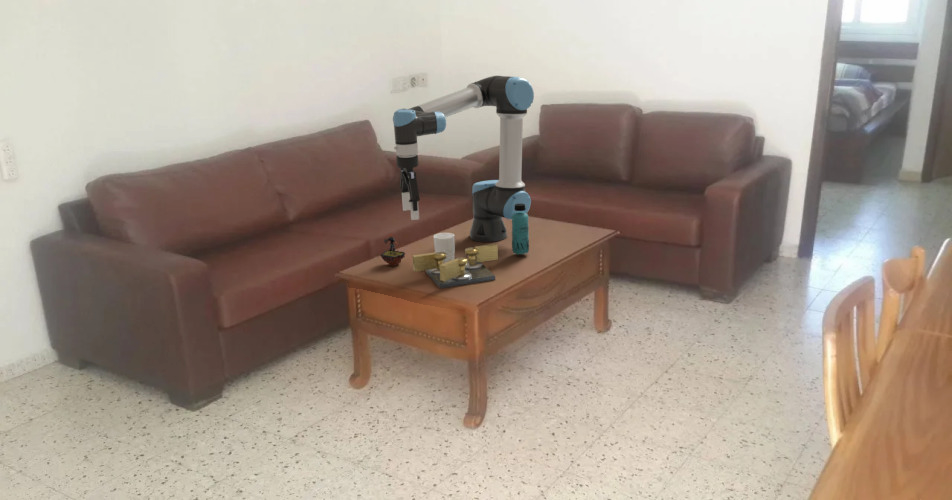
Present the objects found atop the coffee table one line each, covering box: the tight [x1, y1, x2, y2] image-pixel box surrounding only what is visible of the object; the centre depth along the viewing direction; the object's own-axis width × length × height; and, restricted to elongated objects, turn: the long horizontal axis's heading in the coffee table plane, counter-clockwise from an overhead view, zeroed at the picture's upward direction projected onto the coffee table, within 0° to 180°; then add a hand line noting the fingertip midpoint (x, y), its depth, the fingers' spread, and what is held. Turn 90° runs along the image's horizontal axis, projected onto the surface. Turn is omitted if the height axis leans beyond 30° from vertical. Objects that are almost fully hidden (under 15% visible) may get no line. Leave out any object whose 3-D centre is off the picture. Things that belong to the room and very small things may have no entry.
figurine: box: [380, 234, 406, 267], centre depth 292 cm, size 10×8×12 cm
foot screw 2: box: [440, 257, 469, 281], centre depth 270 cm, size 12×5×6 cm, turn 139°
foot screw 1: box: [412, 251, 446, 272], centre depth 278 cm, size 12×5×6 cm, turn 109°
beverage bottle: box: [511, 203, 530, 255], centre depth 295 cm, size 6×7×20 cm
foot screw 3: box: [464, 243, 499, 265], centre depth 284 cm, size 12×5×6 cm, turn 109°
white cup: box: [433, 232, 456, 263], centre depth 294 cm, size 8×8×10 cm
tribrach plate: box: [425, 261, 496, 289], centre depth 279 cm, size 20×18×3 cm
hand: (410, 214), depth 279 cm, fingers open, 13 cm apart
